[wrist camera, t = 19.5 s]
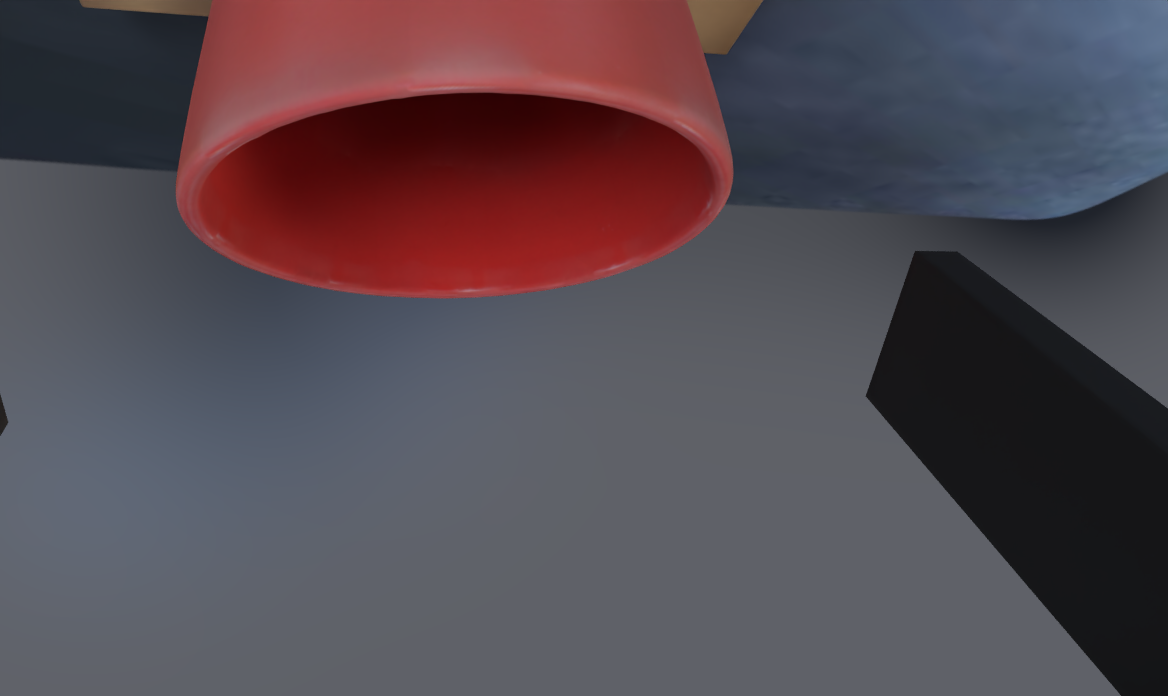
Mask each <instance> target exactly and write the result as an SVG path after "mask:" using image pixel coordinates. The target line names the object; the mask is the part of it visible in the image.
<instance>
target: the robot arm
mask: <svg viewBox="0 0 1168 696" xmlns="http://www.w3.org/2000/svg"><path fill="white" fill-rule="evenodd" d="M866 397H867V398H868V399H869V400H870V402H871V403H872V404H873V405H874V406H875V408H876V409H877V410H878V411H879V412H880V413H881V414H882V416H883V417H884V418H885V419H886V420H887V422H888V423H889V424H890V425H891V426H892V427H893V429H894V430H895V431H896V432H897V433H898V434H899V436H900V437H901V438H902V439H903V440H904V442H905V443H906V444H907V445H908V446H909V447H910V449H912V451H913V452H914V453H915V454H916V456H917V457H918V458H919V459H920V460H921V461H922V463H923V464H924V465H925V466H926V467H927V469H928V470H929V471H930V472H931V473H932V474H933V476H934V477H935V478H936V479H937V480H938V481H939V482H940V484H941V485H942V486H943V487H944V488H945V490H946V491H947V492H948V493H949V494H950V495H951V497H952V498H953V499H954V500H955V501H956V503H957V504H958V505H959V506H960V507H961V508H962V509H963V511H964V512H965V513H966V514H967V515H968V517H969V518H970V519H971V520H972V521H973V522H974V523H975V525H976V526H977V527H978V528H979V529H980V531H981V532H982V533H983V534H984V535H985V536H986V538H987V539H988V540H989V541H990V542H991V543H992V545H993V546H994V547H995V548H996V549H997V551H998V552H999V553H1000V554H1001V555H1002V556H1003V558H1004V559H1005V560H1006V561H1007V562H1008V563H1009V565H1010V566H1011V567H1012V568H1013V569H1014V570H1015V571H1016V573H1017V574H1018V575H1019V576H1020V577H1021V579H1022V580H1023V581H1024V582H1025V583H1026V584H1027V586H1028V587H1029V588H1030V589H1031V590H1032V592H1033V593H1034V594H1035V595H1036V596H1037V597H1038V599H1039V600H1040V601H1041V602H1042V603H1043V604H1044V606H1045V607H1046V608H1047V609H1048V610H1049V612H1050V613H1051V614H1052V615H1053V616H1054V617H1055V619H1056V620H1057V621H1058V622H1059V623H1060V624H1061V626H1063V628H1064V629H1065V630H1066V631H1067V633H1068V634H1069V635H1070V636H1071V637H1072V638H1073V640H1074V641H1075V642H1076V643H1077V644H1078V646H1079V647H1080V648H1081V649H1082V650H1083V651H1084V653H1086V655H1087V656H1088V657H1089V658H1090V660H1091V661H1092V662H1093V663H1094V664H1095V665H1096V666H1097V668H1098V669H1099V670H1100V671H1101V672H1102V674H1103V675H1104V676H1105V677H1106V678H1107V680H1108V681H1109V682H1110V683H1111V684H1112V685H1113V686H1114V688H1115V689H1116V690H1117V691H1118V692H1119V694H1120V695H1121V696H1168V408H1166V407H1165V406H1164V405H1162V404H1161V403H1160V402H1158V401H1157V400H1156V399H1154V398H1153V397H1152V396H1150V395H1149V394H1148V393H1146V392H1145V391H1143V390H1142V389H1141V388H1140V387H1138V386H1137V385H1135V384H1134V383H1133V382H1131V381H1130V380H1129V379H1127V378H1126V377H1125V376H1123V375H1122V374H1120V373H1119V372H1118V371H1116V370H1115V369H1114V368H1113V367H1111V366H1110V365H1109V364H1107V363H1106V362H1105V361H1103V360H1102V359H1101V358H1099V357H1098V356H1097V355H1095V354H1094V353H1093V352H1091V351H1090V350H1089V349H1087V348H1086V347H1085V346H1083V345H1082V344H1081V343H1079V342H1078V341H1076V340H1075V339H1074V338H1072V337H1071V336H1070V335H1068V334H1067V333H1065V332H1064V331H1063V330H1062V329H1060V328H1059V327H1057V326H1056V325H1055V324H1054V323H1052V322H1051V321H1050V320H1048V319H1047V318H1046V317H1044V316H1043V315H1042V314H1040V313H1039V312H1037V311H1036V310H1035V309H1034V308H1032V307H1031V306H1030V305H1028V304H1027V303H1026V302H1024V301H1023V300H1021V299H1020V298H1019V297H1017V296H1016V295H1015V294H1013V293H1012V292H1011V291H1009V290H1008V289H1007V288H1005V287H1004V286H1003V285H1001V284H1000V283H999V282H997V281H996V280H995V279H993V278H992V277H991V276H989V275H988V274H987V273H985V272H984V271H983V270H981V269H980V268H979V267H977V266H976V265H975V264H973V263H972V262H971V261H969V260H968V259H967V258H965V257H964V256H962V255H961V254H960V253H958V252H945V251H937V252H936V251H915V253H914V256H913V258H912V262H911V265H910V268H909V271H908V274H907V276H906V279H905V282H904V285H903V288H902V291H901V294H900V297H899V300H898V303H897V306H896V309H895V312H894V315H893V318H892V320H891V323H890V327H889V330H888V332H887V335H886V338H885V341H884V344H883V347H882V350H881V353H880V356H879V359H878V362H877V365H876V368H875V371H874V374H873V377H872V380H871V382H870V385H869V388H868V391H867V394H866ZM7 423H8V420H7V416H6V413H5V409H4V406H3V403H2V399H1V395H0V435H1V434H2V432H3V430H4V429H5V427H6V425H7Z"/></svg>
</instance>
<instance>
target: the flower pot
mask: <svg viewBox="0 0 1168 696" xmlns="http://www.w3.org/2000/svg"><path fill="white" fill-rule="evenodd" d="M732 181H733V162H732V155H731V150H730V146H729V141H728V137H727V133H726V129H725V125H724V122H723V118H722V114H721V111H720V107H719V103H718V100H717V96H716V93H715V90H714V86H713V83H712V80H711V76H710V73H709V70H708V66H707V63H706V60H705V56H704V53H703V50H702V46H701V43H700V40H699V36H698V33H697V30H696V27H695V24H694V21H693V18H692V15H691V12H690V9H689V6H688V3H687V0H212V4H211V8H210V13H209V18H208V22H207V27H206V32H205V36H204V41H203V45H202V50H201V55H200V59H199V64H198V68H197V73H196V78H195V82H194V87H193V92H192V97H191V102H190V107H189V112H188V117H187V122H186V128H185V133H184V138H183V143H182V149H181V155H180V161H179V167H178V173H177V179H176V200H177V206H178V209H179V212H180V214H181V216H182V218H183V220H184V222H185V223H186V225H187V226H188V228H189V229H190V230H191V231H192V232H193V233H194V234H195V235H196V236H197V237H198V238H199V239H200V240H201V241H202V242H204V243H205V244H206V245H207V246H209V247H210V248H212V249H213V250H214V251H216V252H218V253H219V254H221V255H223V256H224V257H226V258H228V259H230V260H232V261H234V262H236V263H238V264H240V265H243V266H245V267H248V268H250V269H253V270H256V271H259V272H262V273H265V274H268V275H271V276H274V277H277V278H281V279H284V280H288V281H292V282H296V283H299V284H304V285H308V286H313V287H319V288H324V289H330V290H335V291H343V292H350V293H358V294H368V295H377V296H393V297H411V298H472V297H489V296H503V295H510V294H520V293H527V292H536V291H543V290H549V289H555V288H560V287H566V286H571V285H576V284H580V283H584V282H589V281H593V280H597V279H601V278H605V277H608V276H612V275H615V274H618V273H621V272H624V271H627V270H630V269H632V268H635V267H638V266H641V265H644V264H646V263H648V262H651V261H653V260H655V259H658V258H660V257H662V256H664V255H666V254H668V253H670V252H672V251H674V250H676V249H677V248H679V247H680V246H682V245H684V244H685V243H687V242H688V241H690V240H691V239H693V238H694V237H695V236H696V235H698V234H699V233H700V232H701V231H702V230H704V229H705V228H706V227H707V226H708V225H709V224H710V223H711V222H712V221H713V220H714V219H715V218H716V217H717V215H718V214H719V213H720V211H721V209H722V208H723V207H724V205H725V203H726V201H727V199H728V197H729V194H730V190H731V186H732Z"/></svg>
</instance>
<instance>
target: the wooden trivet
mask: <svg viewBox="0 0 1168 696" xmlns="http://www.w3.org/2000/svg"><path fill="white" fill-rule="evenodd" d="M79 1H80V3H81V4H82V6H83V7H88V8H102V9H115V10H129V11H142V12H156V13H169V14H183V15H197V16H209V13H210V8H211V4H212V0H79ZM762 1H763V0H687V3H688V6H689V9H690V12H691V15H692V18H693V21H694V24H695V27H696V30H697V33H698V36H699V40H700V43H701V46H702V50H703V53H712V54H727V53H728V51H729V50H730V48H731V47H732V45H733V44H734V42H735V41H736V39H737V38H738V36H739V35H740V34H741V32H742V31H743V29H744V28H745V26H746V25H747V23H748V22H749V20H750V19H751V17H752V16H753V14H754V13H755V11H756V10H757V8H758V7H759V6H760V4H761V3H762Z"/></svg>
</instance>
